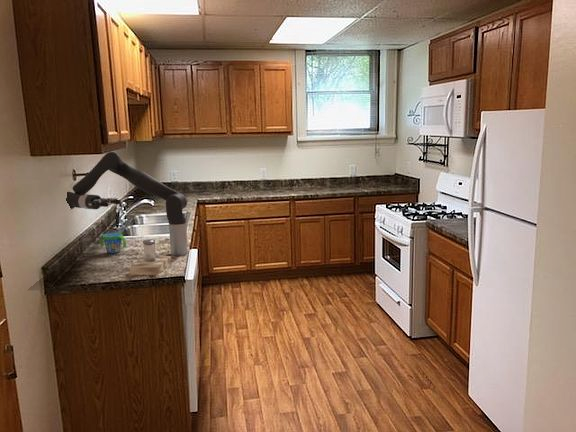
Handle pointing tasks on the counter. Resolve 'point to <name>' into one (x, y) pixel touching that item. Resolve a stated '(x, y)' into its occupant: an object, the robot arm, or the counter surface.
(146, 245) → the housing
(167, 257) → the stand
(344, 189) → the counter surface
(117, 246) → the snack cup
